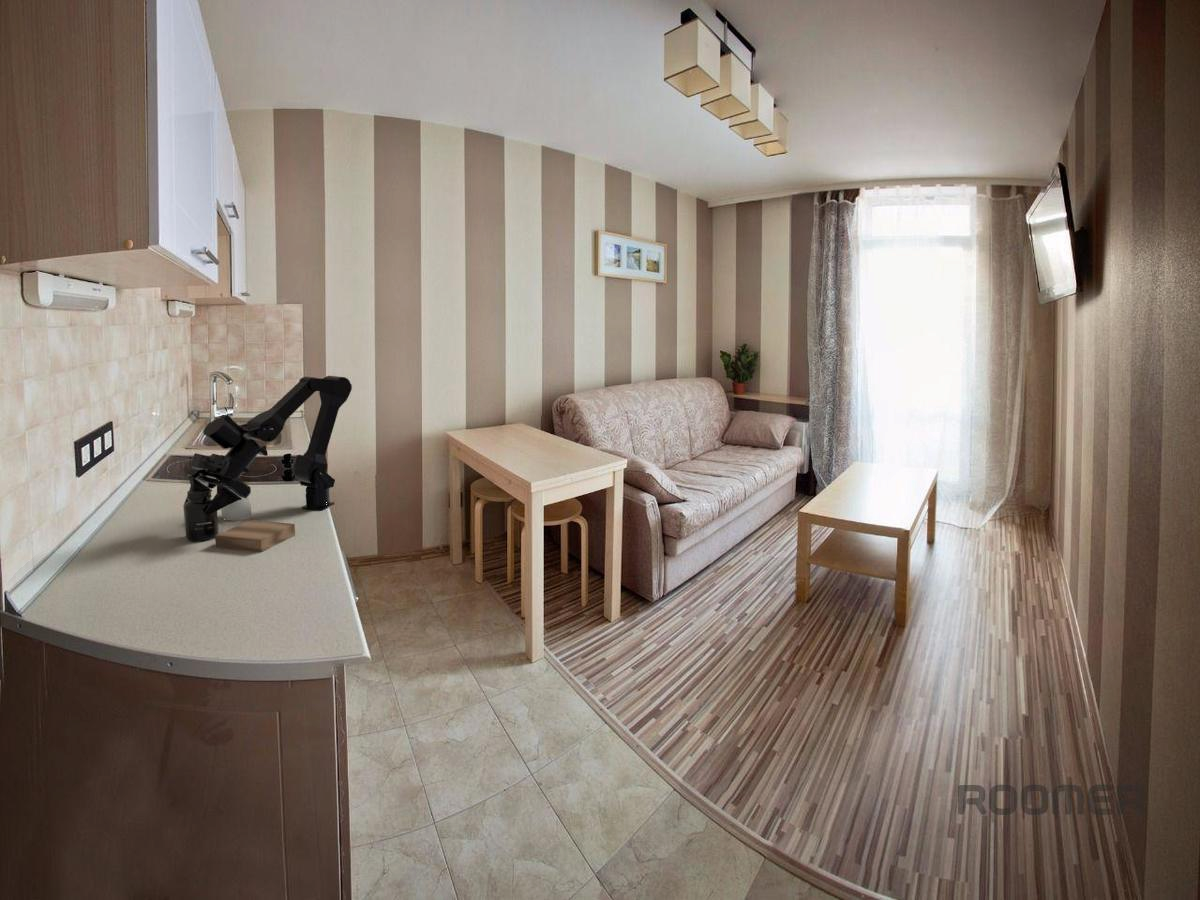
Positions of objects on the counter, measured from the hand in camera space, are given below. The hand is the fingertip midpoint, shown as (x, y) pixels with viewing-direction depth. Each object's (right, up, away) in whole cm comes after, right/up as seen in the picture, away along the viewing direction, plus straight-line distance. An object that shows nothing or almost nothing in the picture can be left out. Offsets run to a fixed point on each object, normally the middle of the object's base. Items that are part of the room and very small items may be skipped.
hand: (195, 511), depth 144 cm
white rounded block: (-1, -4, +18) cm, 19 cm away
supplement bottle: (0, -7, +2) cm, 7 cm away
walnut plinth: (+14, -8, +1) cm, 16 cm away
